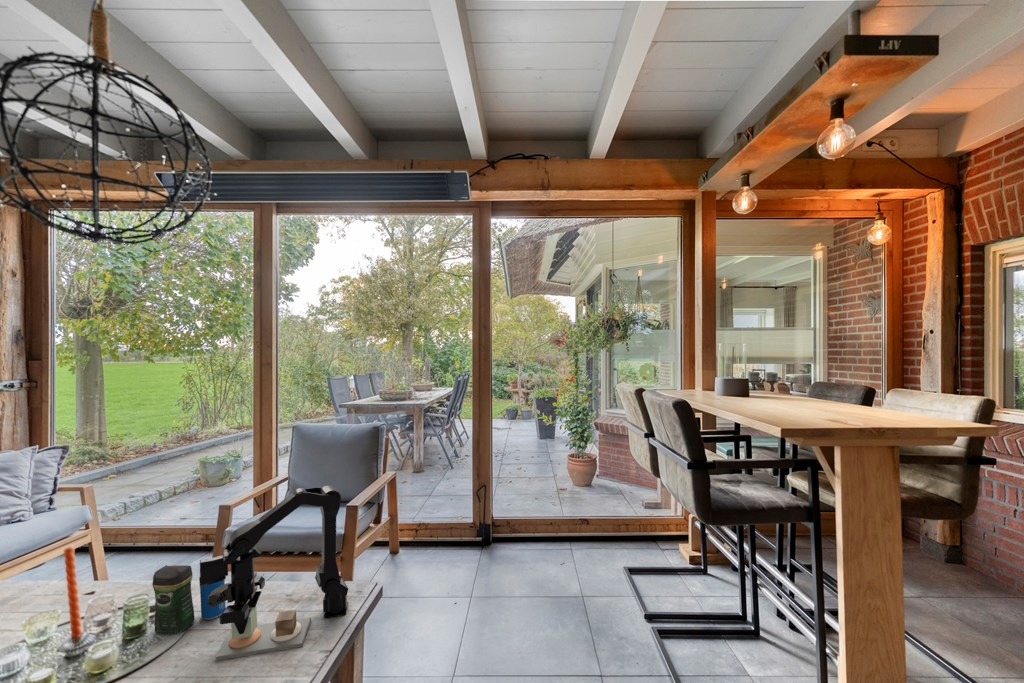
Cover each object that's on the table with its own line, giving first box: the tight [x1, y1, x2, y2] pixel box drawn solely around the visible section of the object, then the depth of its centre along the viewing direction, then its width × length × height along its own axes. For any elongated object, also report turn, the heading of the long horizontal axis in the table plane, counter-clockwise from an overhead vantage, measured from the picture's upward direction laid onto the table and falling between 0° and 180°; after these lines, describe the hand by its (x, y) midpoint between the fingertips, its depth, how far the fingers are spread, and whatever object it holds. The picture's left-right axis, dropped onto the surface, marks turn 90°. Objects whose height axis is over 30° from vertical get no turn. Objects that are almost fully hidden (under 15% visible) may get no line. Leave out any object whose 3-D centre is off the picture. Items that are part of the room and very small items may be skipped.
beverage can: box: [199, 580, 227, 620], centre depth 145 cm, size 6×6×12 cm
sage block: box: [230, 606, 258, 639], centre depth 131 cm, size 5×5×6 cm
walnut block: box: [274, 609, 297, 637], centre depth 134 cm, size 4×4×4 cm
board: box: [214, 616, 312, 661], centre depth 133 cm, size 22×12×2 cm, turn 103°
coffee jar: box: [151, 564, 196, 635], centre depth 139 cm, size 10×8×19 cm
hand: (244, 627), depth 131 cm, fingers closed on sage block, 5 cm apart
